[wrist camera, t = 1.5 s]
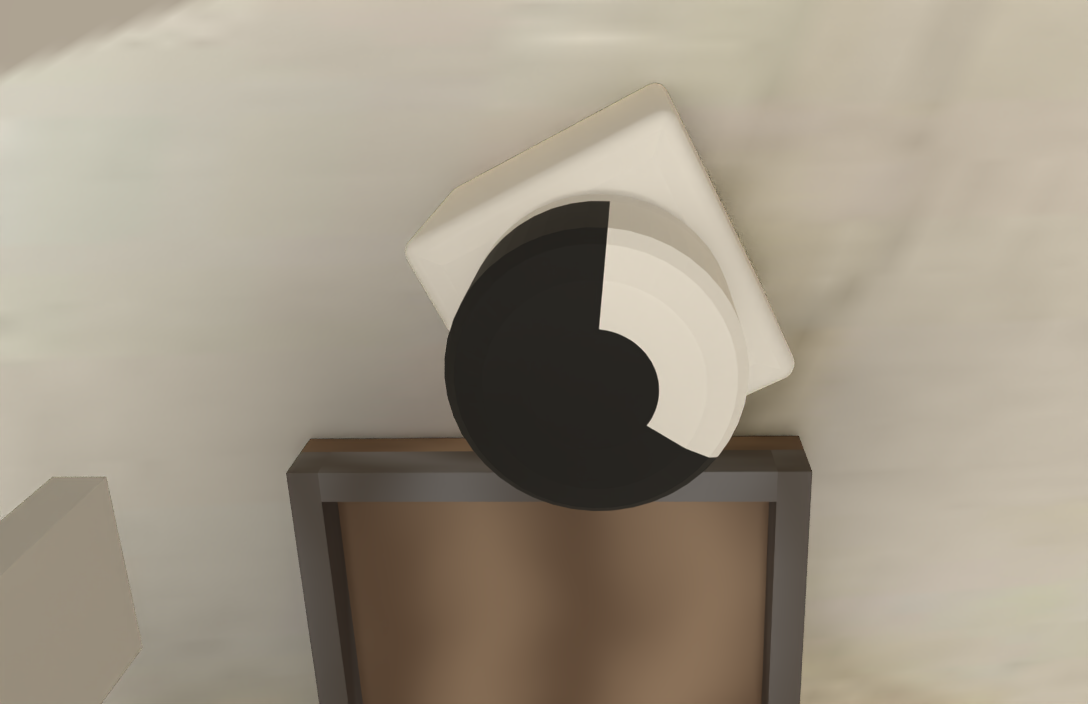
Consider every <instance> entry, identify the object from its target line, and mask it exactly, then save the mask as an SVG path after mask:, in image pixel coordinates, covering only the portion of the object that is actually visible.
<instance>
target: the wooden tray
mask: <svg viewBox="0 0 1088 704" xmlns="http://www.w3.org/2000/svg"><path fill="white" fill-rule="evenodd" d="M286 475H287V482H288V489H289V496H290V503H291V510H292V517H293V524H294V531H295V537H296V544H297V551H298V558H299V565H300V572H301V579H302V586H303V593H304V600H305V607H306V614H307V621H308V628H309V635H310V642H311V649H312V656H313V662H314V669H315V676H316V683H317V690H318V697H319V704H800V690H801V671H802V652H803V633H804V615H805V596H806V577H807V558H808V539H809V521H810V502H811V483H812V470H811V467H810V465H809V462H808V459H807V457H806V454H805V452H804V449H803V446H802V444H801V441H800V438H799V436H744V437H731V438H730V440H729V442H728V443H727V445H726V446H725V447H724V449H723V450H722V452H721V453H720V454H719V456H718V457H717V458H716V459H715V460H714V461H713V462H712V463H711V464H710V465H709V467H708V468H707V469H706V470H705V471H704V472H702V473H701V474H700V475H699V476H697V477H696V478H695V479H694V480H692V481H691V482H690V483H689V484H687V485H685V486H684V487H682V488H680V489H679V490H677V491H675V492H674V493H672V494H670V495H668V496H665V497H663V498H661V499H658V500H656V501H654V502H651V503H647V504H644V505H640V506H637V507H633V508H626V509H620V510H613V511H587V510H577V509H570V508H566V507H561V506H557V505H553V504H550V503H547V502H544V501H541V500H539V499H536V498H533V497H531V496H529V495H527V494H525V493H523V492H522V491H520V490H518V489H516V488H514V487H513V486H511V485H510V484H508V483H507V482H505V481H504V480H503V479H501V478H500V477H499V476H497V475H496V474H495V473H494V472H493V471H492V470H491V469H490V468H488V467H487V466H486V465H485V464H484V463H483V461H482V460H481V459H480V458H479V457H478V456H477V455H476V453H475V452H474V451H473V450H472V448H471V447H470V445H469V444H468V442H467V441H466V439H465V438H409V439H310V440H309V441H308V443H307V444H306V446H305V447H304V449H303V450H302V451H301V453H300V454H299V456H298V457H297V458H296V460H295V461H294V463H293V464H292V466H291V467H290V468H289V470H288V471H287V473H286Z"/></svg>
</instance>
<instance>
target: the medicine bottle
mask: <svg viewBox="0 0 1088 704" xmlns="http://www.w3.org/2000/svg"><path fill="white" fill-rule="evenodd" d="M405 255H406V258H407V261H408V263H409V264H410V266H411V268H412V270H413V271H414V273H415V275H416V276H417V278H418V280H419V281H420V283H421V285H422V287H423V288H424V290H425V292H426V293H427V295H428V297H429V298H430V300H431V302H432V304H433V305H434V307H435V309H436V310H437V312H438V314H439V315H440V317H441V319H442V320H443V322H444V324H445V326H446V327H447V329H448V331H449V335H448V339H447V345H446V352H445V383H446V389H447V396H448V400H449V403H450V406H451V410H452V413H453V416H454V418H455V420H456V422H457V424H458V427H459V429H460V431H461V433H462V435H463V436H464V438H465V439H466V441H467V442H468V444H469V445H470V447H471V448H472V450H473V451H474V452H475V453H476V455H477V456H478V457H479V458H480V459H481V460H482V461H483V463H484V464H485V465H486V466H487V467H488V468H490V469H491V470H492V471H493V472H494V473H495V474H496V475H497V476H499V477H500V478H501V479H503V480H504V481H505V482H507V483H508V484H510V485H511V486H513V487H514V488H516V489H518V490H520V491H522V492H523V493H525V494H527V495H529V496H531V497H533V498H536V499H539V500H541V501H544V502H547V503H550V504H553V505H557V506H561V507H566V508H570V509H577V510H587V511H613V510H620V509H626V508H633V507H637V506H640V505H644V504H647V503H651V502H654V501H656V500H658V499H661V498H663V497H665V496H668V495H670V494H672V493H674V492H675V491H677V490H679V489H680V488H682V487H684V486H685V485H687V484H689V483H690V482H691V481H692V480H694V479H695V478H696V477H697V476H699V475H700V474H701V473H702V472H704V471H705V470H706V469H707V468H708V467H709V465H710V464H711V463H712V462H713V461H714V460H715V459H716V458H717V457H718V456H719V454H720V453H721V452H722V450H723V449H724V447H725V446H726V445H727V443H728V442H729V440H730V438H731V436H732V434H733V433H734V431H735V429H736V427H737V425H738V423H739V420H740V417H741V414H742V411H743V408H744V405H745V400H746V395H749V394H751V393H753V392H755V391H758V390H760V389H762V388H764V387H767V386H769V385H771V384H773V383H775V382H778V381H780V380H782V379H784V378H786V377H788V376H789V375H790V374H791V373H792V371H793V368H794V365H795V363H794V357H793V355H792V353H791V351H790V348H789V346H788V344H787V342H786V339H785V337H784V335H783V333H782V331H781V328H780V326H779V324H778V322H777V319H776V317H775V315H774V313H773V310H772V308H771V306H770V304H769V301H768V299H767V297H766V295H765V292H764V290H763V288H762V286H761V284H760V281H759V279H758V277H757V275H756V273H755V271H754V269H753V267H752V265H751V263H750V261H749V259H748V257H747V255H746V253H745V251H744V248H743V246H742V244H741V242H740V240H739V238H738V236H737V234H736V232H735V230H734V228H733V226H732V224H731V222H730V220H729V217H728V215H727V213H726V211H725V209H724V207H723V205H722V203H721V201H720V199H719V197H718V195H717V193H716V191H715V189H714V187H713V184H712V182H711V180H710V178H709V176H708V174H707V172H706V170H705V168H704V166H703V164H702V162H701V160H700V158H699V156H698V153H697V151H696V149H695V147H694V145H693V143H692V141H691V139H690V137H689V135H688V133H687V131H686V129H685V127H684V125H683V123H682V120H681V118H680V116H679V114H678V112H677V110H676V108H675V106H674V104H673V102H672V100H671V98H670V96H669V94H668V92H667V90H666V89H665V87H664V86H663V85H661V84H658V83H653V84H649V85H647V86H645V87H643V88H642V89H640V90H638V91H636V92H634V93H632V94H630V95H628V96H627V97H625V98H623V99H621V100H619V101H617V102H615V103H614V104H612V105H610V106H608V107H606V108H604V109H602V110H600V111H599V112H597V113H595V114H593V115H591V116H589V117H587V118H586V119H584V120H582V121H580V122H578V123H576V124H574V125H572V126H571V127H569V128H567V129H565V130H563V131H561V132H559V133H558V134H556V135H554V136H552V137H550V138H548V139H546V140H544V141H543V142H541V143H539V144H537V145H535V146H533V147H531V148H530V149H528V150H526V151H524V152H522V153H520V154H518V155H516V156H515V157H513V158H511V159H509V160H507V161H505V162H503V163H502V164H500V165H498V166H496V167H494V168H492V169H490V170H488V171H487V172H485V173H483V174H481V175H479V176H477V177H475V178H474V179H472V180H470V181H468V182H466V183H464V184H462V185H460V186H459V187H457V188H455V189H454V190H453V191H452V192H451V193H450V194H449V195H448V196H447V198H446V199H445V200H444V201H443V202H442V203H441V205H440V206H439V207H438V208H437V209H436V210H435V212H434V213H433V214H432V215H431V216H430V217H429V219H428V220H427V221H426V222H425V223H424V224H423V226H422V227H421V228H420V229H419V230H418V231H417V233H416V234H415V235H414V236H413V237H412V238H411V240H410V241H409V242H408V243H407V245H406V248H405Z"/></svg>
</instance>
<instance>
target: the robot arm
mask: <svg viewBox="0 0 1088 704" xmlns="http://www.w3.org/2000/svg"><path fill="white" fill-rule="evenodd" d="M142 648H143V647H142V642H141V637H140V633H139V628H138V623H137V619H136V614H135V609H134V605H133V600H132V595H131V591H130V586H129V581H128V576H127V572H126V567H125V562H124V558H123V553H122V548H121V544H120V539H119V534H118V530H117V525H116V520H115V516H114V511H113V506H112V502H111V497H110V492H109V488H108V483H107V478H106V477H52V478H51V479H49V480H48V481H47V482H46V483H45V484H44V485H42V486H41V487H40V488H39V489H38V490H36V491H35V492H34V493H33V494H32V495H31V496H29V497H28V498H27V499H26V500H25V501H24V502H22V503H21V504H20V505H19V506H18V507H16V508H15V509H14V510H13V511H12V512H11V513H9V514H8V515H7V516H6V517H5V518H3V519H2V520H1V521H0V704H101V703H102V702H103V700H104V699H105V698H106V696H107V695H108V694H109V692H110V691H111V690H112V688H113V687H114V686H115V684H116V683H117V682H118V680H119V679H120V677H121V676H122V675H123V673H124V672H125V671H126V669H127V668H128V667H129V665H130V664H131V663H132V661H133V660H134V659H135V657H136V656H137V655H138V653H139V652H140V651H141V649H142Z"/></svg>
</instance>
